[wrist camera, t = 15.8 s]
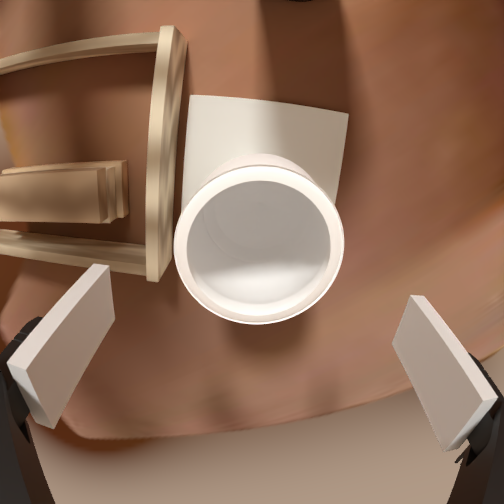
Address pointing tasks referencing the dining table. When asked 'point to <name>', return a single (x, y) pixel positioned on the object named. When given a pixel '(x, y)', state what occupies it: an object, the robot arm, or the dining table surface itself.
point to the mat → (262, 138)
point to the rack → (158, 158)
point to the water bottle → (299, 0)
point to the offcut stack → (65, 192)
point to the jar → (258, 240)
